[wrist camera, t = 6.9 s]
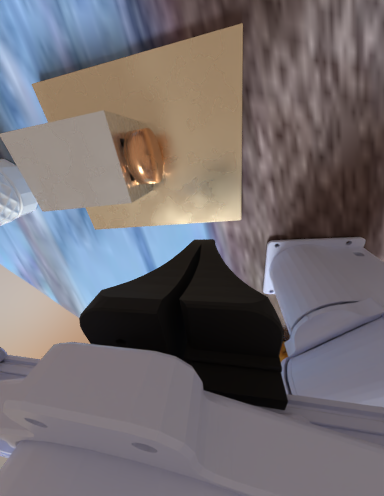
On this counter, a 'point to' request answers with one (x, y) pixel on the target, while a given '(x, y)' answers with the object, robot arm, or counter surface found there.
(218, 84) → the bearing block
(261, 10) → the counter surface
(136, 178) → the shaft
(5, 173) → the white cup
